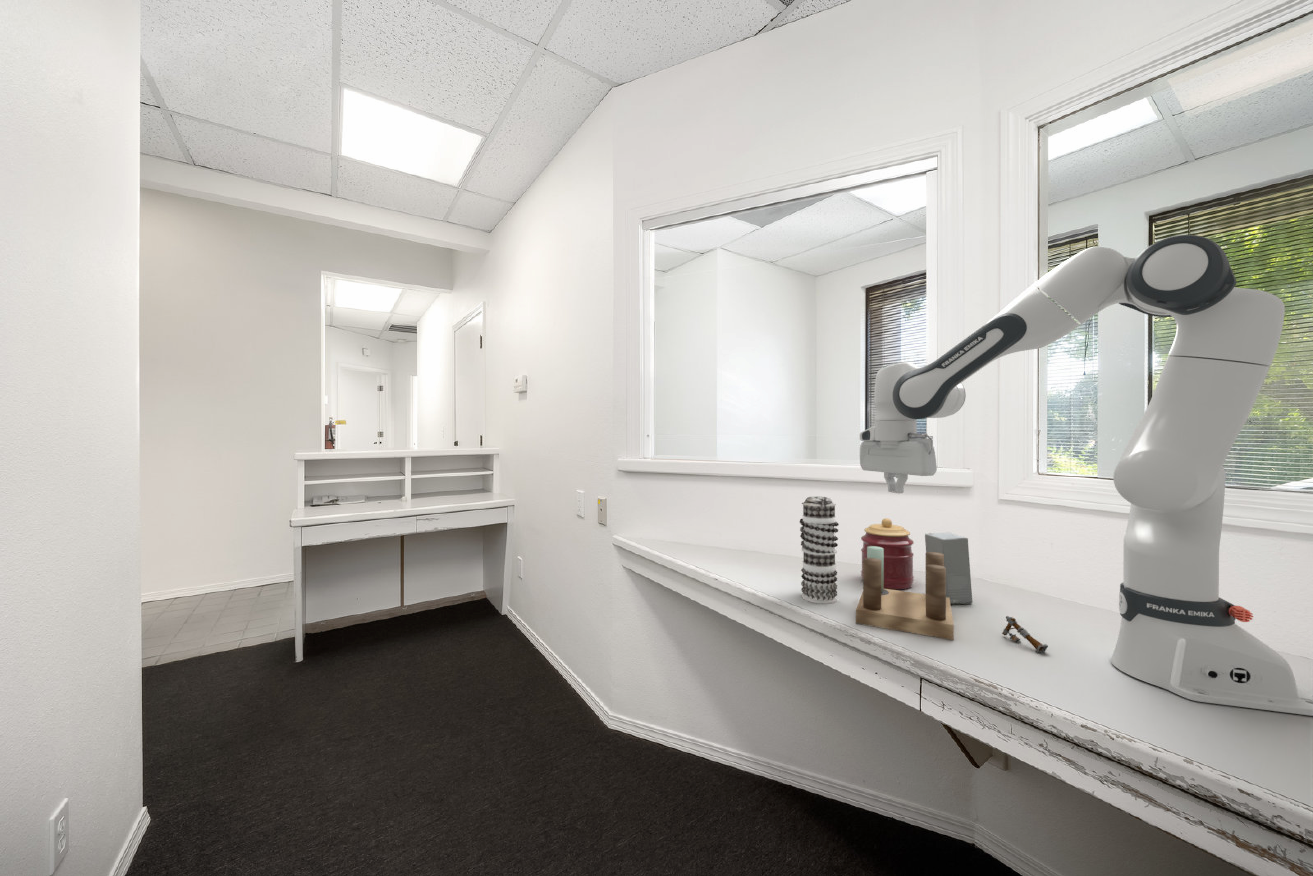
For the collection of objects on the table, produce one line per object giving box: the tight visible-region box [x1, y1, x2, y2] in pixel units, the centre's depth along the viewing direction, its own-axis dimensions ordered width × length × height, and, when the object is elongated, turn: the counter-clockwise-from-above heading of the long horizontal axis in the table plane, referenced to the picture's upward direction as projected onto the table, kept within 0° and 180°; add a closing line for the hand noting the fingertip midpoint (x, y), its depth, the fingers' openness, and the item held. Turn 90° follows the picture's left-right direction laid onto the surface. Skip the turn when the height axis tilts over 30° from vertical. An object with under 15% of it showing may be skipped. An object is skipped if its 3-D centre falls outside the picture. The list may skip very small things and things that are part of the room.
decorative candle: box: [799, 496, 839, 605], centre depth 121 cm, size 9×9×25 cm
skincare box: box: [924, 532, 973, 605], centre depth 119 cm, size 8×7×16 cm
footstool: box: [855, 551, 955, 641], centre depth 108 cm, size 18×18×13 cm
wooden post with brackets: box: [1001, 615, 1049, 654], centre depth 94 cm, size 2×8×4 cm, turn 14°
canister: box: [860, 517, 915, 590], centre depth 132 cm, size 13×13×18 cm
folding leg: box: [867, 546, 885, 592], centre depth 114 cm, size 9×4×10 cm, turn 154°
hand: (895, 492), depth 113 cm, fingers closed
